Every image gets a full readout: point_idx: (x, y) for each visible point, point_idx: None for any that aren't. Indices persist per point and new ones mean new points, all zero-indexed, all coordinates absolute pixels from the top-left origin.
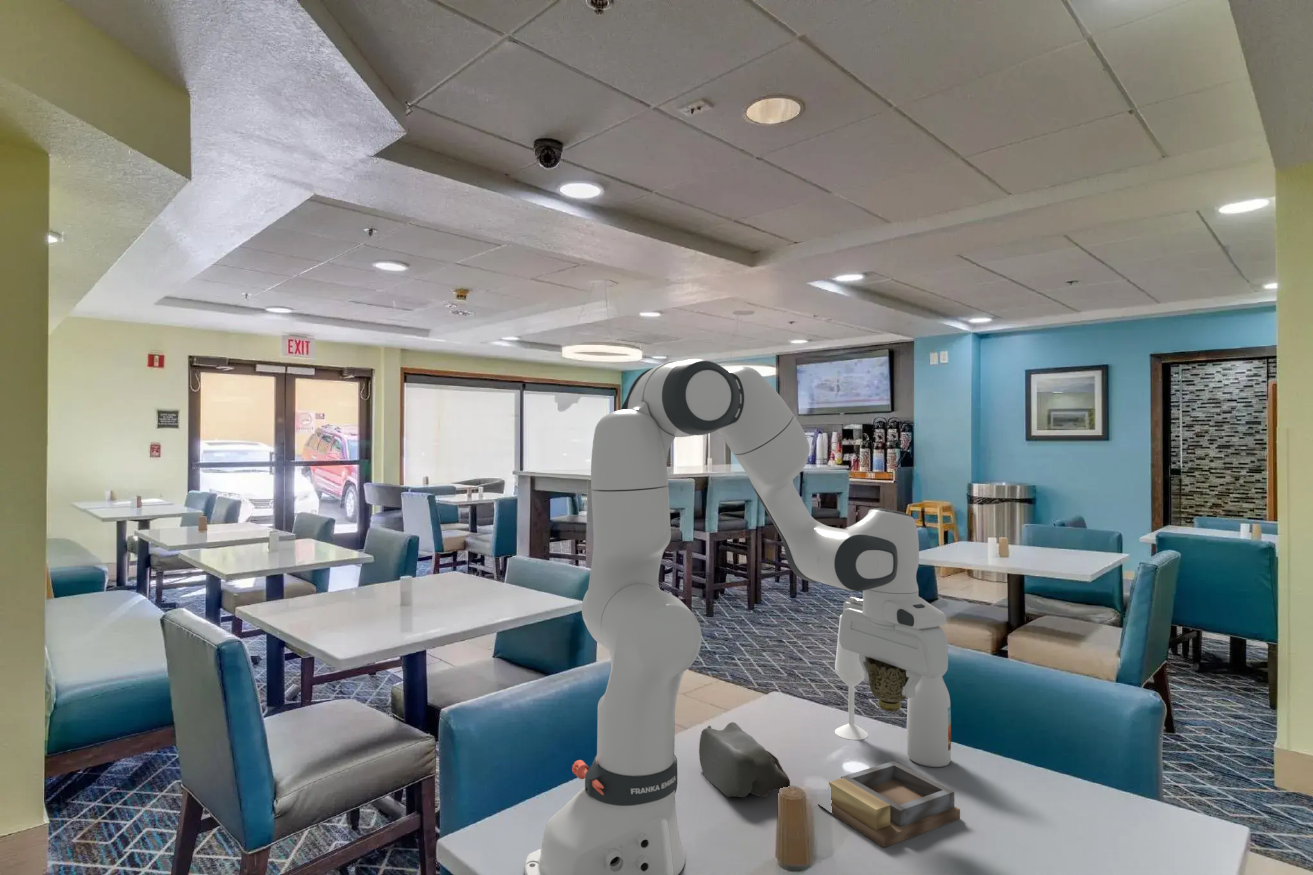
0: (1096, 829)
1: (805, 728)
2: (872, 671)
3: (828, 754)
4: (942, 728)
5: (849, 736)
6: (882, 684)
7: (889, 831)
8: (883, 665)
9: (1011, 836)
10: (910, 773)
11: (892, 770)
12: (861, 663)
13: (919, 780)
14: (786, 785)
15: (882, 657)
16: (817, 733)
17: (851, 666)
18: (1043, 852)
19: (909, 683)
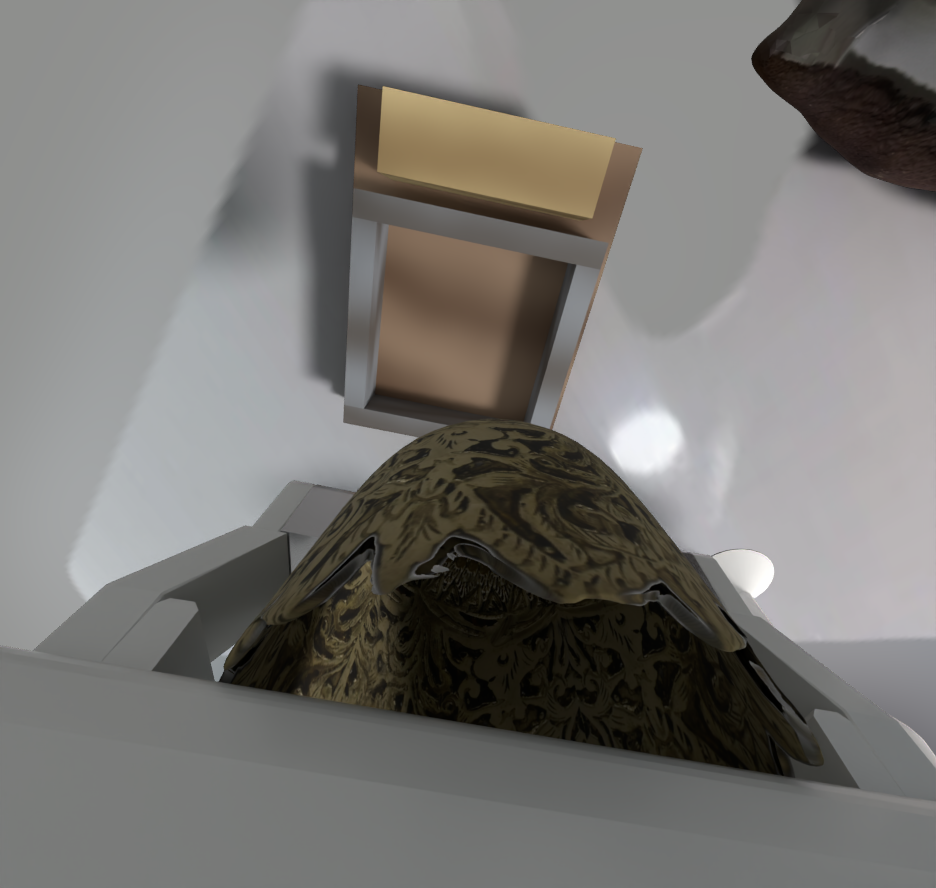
0: (206, 538)
1: (852, 532)
2: (596, 520)
3: (737, 452)
4: None
5: (726, 559)
6: (453, 450)
7: (370, 137)
8: (624, 743)
9: (253, 412)
10: None
11: None
12: (836, 683)
13: (439, 420)
14: (764, 40)
15: (526, 822)
16: (810, 529)
17: None
18: (187, 401)
19: (207, 551)
